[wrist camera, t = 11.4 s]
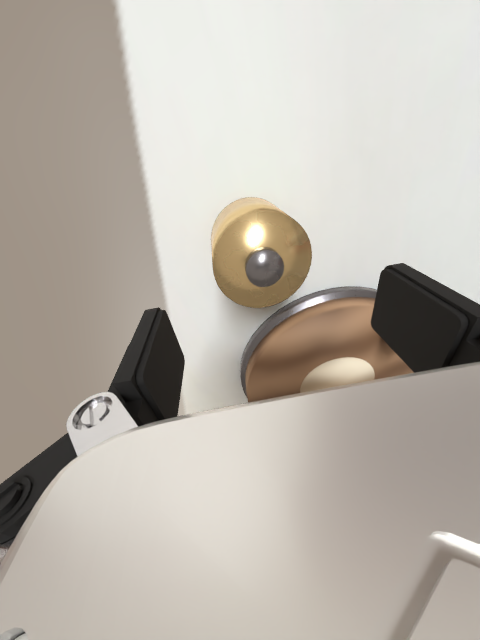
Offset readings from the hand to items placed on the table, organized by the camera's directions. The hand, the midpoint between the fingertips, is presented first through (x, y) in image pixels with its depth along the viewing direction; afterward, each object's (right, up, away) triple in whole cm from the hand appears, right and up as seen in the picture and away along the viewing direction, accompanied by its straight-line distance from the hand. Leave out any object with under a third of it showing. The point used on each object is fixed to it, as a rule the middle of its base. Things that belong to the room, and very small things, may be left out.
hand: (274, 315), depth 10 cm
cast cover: (-1, +7, +11) cm, 13 cm away
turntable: (+10, -7, +20) cm, 23 cm away
